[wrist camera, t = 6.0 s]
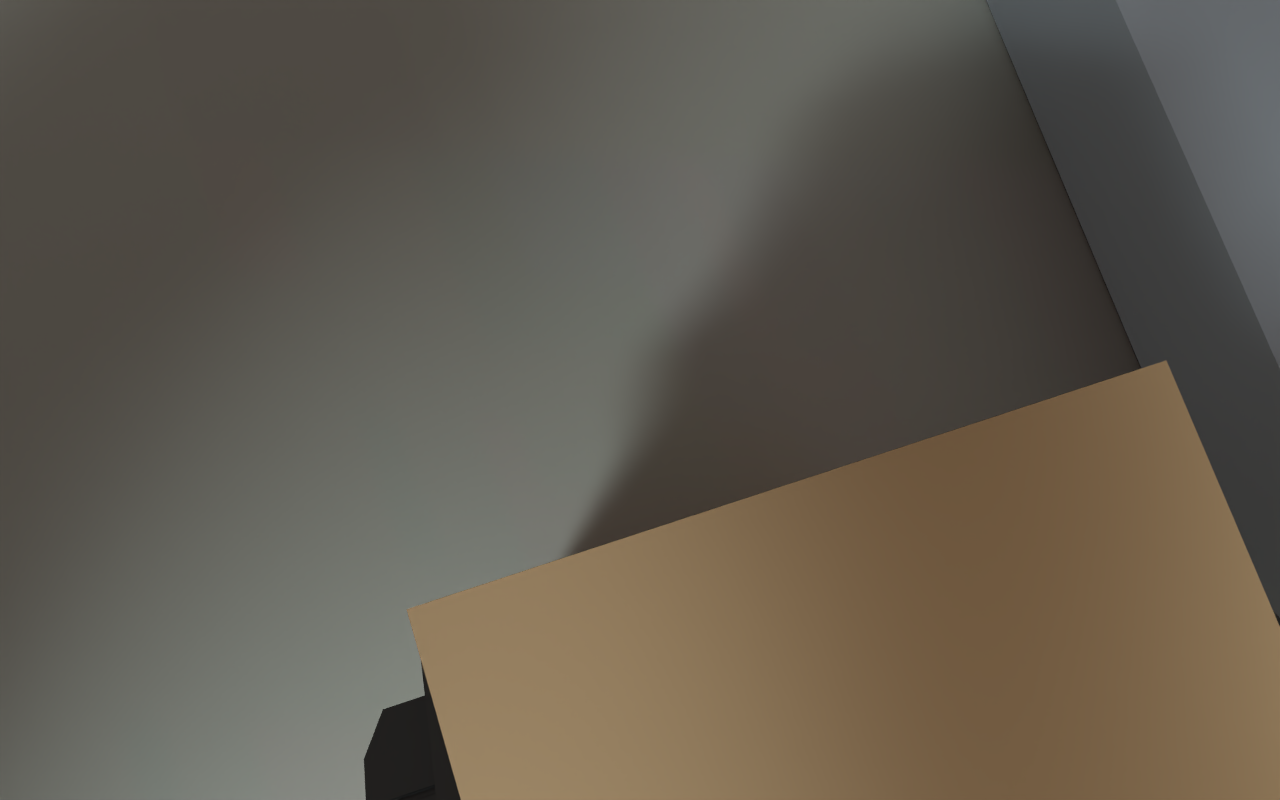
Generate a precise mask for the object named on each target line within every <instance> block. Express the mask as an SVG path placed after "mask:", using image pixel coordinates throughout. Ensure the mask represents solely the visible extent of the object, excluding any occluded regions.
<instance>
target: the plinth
mask: <svg viewBox="0 0 1280 800" xmlns="http://www.w3.org/2000/svg"><path fill="white" fill-rule="evenodd" d="M986 1H987V3H988V5H989V8H990V10H991V13H992V15H993V17H994V20H995V22H996V24H997V27H998V29H999V32H1000V34H1001V36H1002V39H1003V41H1004V43H1005V46H1006V48H1007V51H1008V53H1009V55H1010V58H1011V60H1012V62H1013V65H1014V67H1015V70H1016V72H1017V74H1018V77H1019V79H1020V81H1021V84H1022V86H1023V88H1024V91H1025V93H1026V96H1027V98H1028V100H1029V103H1030V105H1031V107H1032V110H1033V112H1034V115H1035V117H1036V119H1037V122H1038V124H1039V126H1040V129H1041V131H1042V134H1043V136H1044V138H1045V141H1046V143H1047V145H1048V148H1049V150H1050V153H1051V155H1052V157H1053V160H1054V162H1055V164H1056V167H1057V169H1058V172H1059V174H1060V176H1061V179H1062V181H1063V183H1064V186H1065V188H1066V191H1067V193H1068V195H1069V198H1070V200H1071V202H1072V205H1073V207H1074V210H1075V212H1076V214H1077V217H1078V219H1079V221H1080V224H1081V226H1082V228H1083V231H1084V233H1085V236H1086V238H1087V240H1088V243H1089V245H1090V247H1091V250H1092V252H1093V255H1094V257H1095V259H1096V262H1097V264H1098V266H1099V269H1100V271H1101V274H1102V276H1103V278H1104V281H1105V283H1106V285H1107V288H1108V290H1109V293H1110V295H1111V297H1112V300H1113V302H1114V304H1115V307H1116V309H1117V312H1118V314H1119V316H1120V319H1121V321H1122V323H1123V326H1124V328H1125V331H1126V333H1127V335H1128V338H1129V340H1130V342H1131V345H1132V347H1133V350H1134V352H1135V354H1136V357H1137V359H1138V361H1139V364H1140V366H1141V368H1144V367H1147V366H1150V365H1153V364H1156V363H1160V362H1163V361H1167V363H1168V365H1169V368H1170V370H1171V372H1172V375H1173V377H1174V379H1175V382H1176V384H1177V386H1178V389H1179V391H1180V393H1181V396H1182V398H1183V400H1184V403H1185V405H1186V408H1187V410H1188V412H1189V415H1190V417H1191V419H1192V422H1193V424H1194V426H1195V429H1196V431H1197V433H1198V436H1199V438H1200V440H1201V443H1202V445H1203V447H1204V450H1205V452H1206V455H1207V457H1208V459H1209V462H1210V464H1211V466H1212V469H1213V471H1214V473H1215V476H1216V478H1217V480H1218V483H1219V485H1220V487H1221V490H1222V492H1223V494H1224V497H1225V499H1226V502H1227V504H1228V506H1229V509H1230V511H1231V513H1232V516H1233V518H1234V520H1235V523H1236V525H1237V527H1238V530H1239V532H1240V534H1241V537H1242V539H1243V541H1244V544H1245V546H1246V548H1247V551H1248V553H1249V556H1250V558H1251V560H1252V563H1253V565H1254V567H1255V570H1256V572H1257V574H1258V577H1259V579H1260V581H1261V584H1262V586H1263V588H1264V591H1265V593H1266V595H1267V598H1268V600H1269V603H1270V605H1271V607H1272V610H1273V611H1274V612H1275V613H1276V614H1277V615H1278V616H1279V617H1280V0H986Z"/></svg>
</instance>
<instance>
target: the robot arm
mask: <svg viewBox="0 0 1280 800" xmlns="http://www.w3.org/2000/svg"><path fill="white" fill-rule="evenodd" d="M1273 612H1274V611H1273ZM1274 614H1275V617H1276V619H1277V621H1278V624H1279V626H1280V617H1279V616H1278V615H1277V614H1276V613H1275V612H1274ZM421 664H422V661H421ZM422 673H423V682H424V691H425V696H422V697H419V698H416V699H413V700H410V701H407V702H404V703H401V704H398V705H395V706H392V707H389V708H386V709H383V711H382V714H381V716H380V719H379V721H378V724H377V727H376V729H375V732H374V734H373V737H372V740H371V742H370V745H369V747H368V750H367V753H366V755H365V758H364V768H365V790H366V800H461V798H460V795H459V791H458V788H457V784H456V781H455V777H454V774H453V770H452V767H451V763H450V760H449V756H448V753H447V749H446V746H445V742H444V739H443V735H442V732H441V728H440V725H439V721H438V718H437V714H436V711H435V707H434V704H433V700H432V697H431V693H430V690H429V686H428V683H427V679H426V676H425V672H424V669H423V665H422Z"/></svg>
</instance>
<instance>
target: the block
mask: <svg viewBox="0 0 1280 800" xmlns="http://www.w3.org/2000/svg"><path fill="white" fill-rule="evenodd" d="M407 612H408V616H409V619H410V623H411V626H412V630H413V633H414V637H415V640H416V644H417V647H418V651H419V654H420V658H421V661H422V665H423V669H424V672H425V676H426V679H427V683H428V686H429V690H430V693H431V697H432V700H433V704H434V707H435V711H436V714H437V718H438V721H439V725H440V728H441V732H442V735H443V739H444V742H445V746H446V749H447V753H448V756H449V760H450V763H451V767H452V770H453V774H454V777H455V781H456V784H457V788H458V791H459V795H460V798H461V800H1280V626H1279V624H1278V621H1277V619H1276V617H1275V614H1274V612H1273V610H1272V607H1271V605H1270V603H1269V600H1268V598H1267V595H1266V593H1265V591H1264V588H1263V586H1262V584H1261V581H1260V579H1259V577H1258V574H1257V572H1256V570H1255V567H1254V565H1253V563H1252V560H1251V558H1250V556H1249V553H1248V551H1247V548H1246V546H1245V544H1244V541H1243V539H1242V537H1241V534H1240V532H1239V530H1238V527H1237V525H1236V523H1235V520H1234V518H1233V516H1232V513H1231V511H1230V509H1229V506H1228V504H1227V502H1226V499H1225V497H1224V494H1223V492H1222V490H1221V487H1220V485H1219V483H1218V480H1217V478H1216V476H1215V473H1214V471H1213V469H1212V466H1211V464H1210V462H1209V459H1208V457H1207V455H1206V452H1205V450H1204V447H1203V445H1202V443H1201V440H1200V438H1199V436H1198V433H1197V431H1196V429H1195V426H1194V424H1193V422H1192V419H1191V417H1190V415H1189V412H1188V410H1187V408H1186V405H1185V403H1184V400H1183V398H1182V396H1181V393H1180V391H1179V389H1178V386H1177V384H1176V382H1175V379H1174V377H1173V375H1172V372H1171V370H1170V368H1169V365H1168V363H1167V361H1163V362H1160V363H1156V364H1153V365H1150V366H1147V367H1144V368H1141V369H1138V370H1135V371H1132V372H1129V373H1126V374H1123V375H1120V376H1117V377H1114V378H1111V379H1108V380H1105V381H1102V382H1099V383H1095V384H1092V385H1089V386H1086V387H1083V388H1080V389H1077V390H1074V391H1071V392H1068V393H1065V394H1062V395H1059V396H1056V397H1053V398H1050V399H1047V400H1044V401H1041V402H1038V403H1034V404H1031V405H1028V406H1025V407H1022V408H1019V409H1016V410H1013V411H1010V412H1007V413H1004V414H1001V415H998V416H995V417H992V418H989V419H986V420H983V421H980V422H977V423H974V424H970V425H967V426H964V427H961V428H958V429H955V430H952V431H949V432H946V433H943V434H940V435H937V436H934V437H931V438H928V439H925V440H922V441H919V442H916V443H913V444H909V445H906V446H903V447H900V448H897V449H894V450H891V451H888V452H885V453H882V454H879V455H876V456H873V457H870V458H867V459H864V460H861V461H858V462H855V463H852V464H848V465H845V466H842V467H839V468H836V469H833V470H830V471H827V472H824V473H821V474H818V475H815V476H812V477H809V478H806V479H803V480H800V481H797V482H794V483H791V484H787V485H784V486H781V487H778V488H775V489H772V490H769V491H766V492H763V493H760V494H757V495H754V496H751V497H748V498H745V499H742V500H739V501H736V502H733V503H730V504H727V505H723V506H720V507H717V508H714V509H711V510H708V511H705V512H702V513H699V514H696V515H693V516H690V517H687V518H684V519H681V520H678V521H675V522H672V523H669V524H666V525H662V526H659V527H656V528H653V529H650V530H647V531H644V532H641V533H638V534H635V535H632V536H629V537H626V538H623V539H620V540H617V541H614V542H611V543H608V544H605V545H601V546H598V547H595V548H592V549H589V550H586V551H583V552H580V553H577V554H574V555H571V556H568V557H565V558H562V559H559V560H556V561H553V562H550V563H547V564H544V565H541V566H537V567H534V568H531V569H528V570H525V571H522V572H519V573H516V574H513V575H510V576H507V577H504V578H501V579H498V580H495V581H492V582H489V583H486V584H483V585H480V586H476V587H473V588H470V589H467V590H464V591H461V592H458V593H455V594H452V595H449V596H446V597H443V598H440V599H437V600H434V601H431V602H428V603H425V604H422V605H419V606H415V607H412V608H409V609H407Z"/></svg>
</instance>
